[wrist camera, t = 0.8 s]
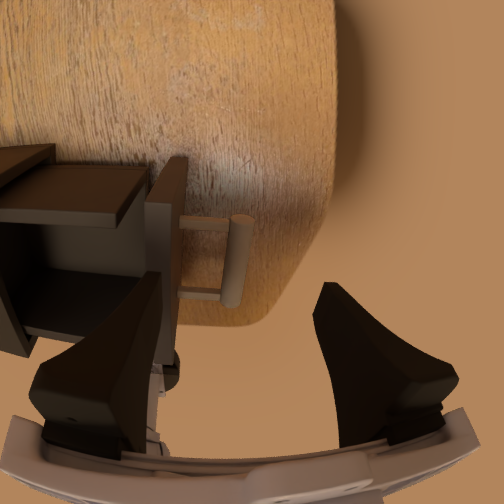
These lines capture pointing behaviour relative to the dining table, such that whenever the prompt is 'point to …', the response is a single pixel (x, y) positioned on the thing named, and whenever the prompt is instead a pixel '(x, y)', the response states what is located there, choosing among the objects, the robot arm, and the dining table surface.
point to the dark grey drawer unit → (3, 315)
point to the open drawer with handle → (105, 246)
